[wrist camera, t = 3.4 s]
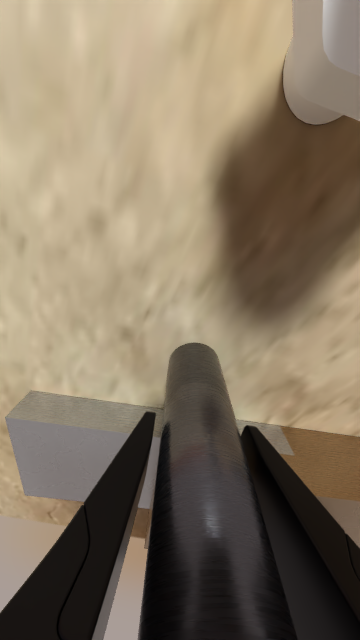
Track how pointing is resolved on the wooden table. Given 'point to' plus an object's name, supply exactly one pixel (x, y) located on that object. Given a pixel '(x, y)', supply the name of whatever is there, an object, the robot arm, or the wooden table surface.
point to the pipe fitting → (324, 61)
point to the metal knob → (207, 520)
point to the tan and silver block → (117, 424)
